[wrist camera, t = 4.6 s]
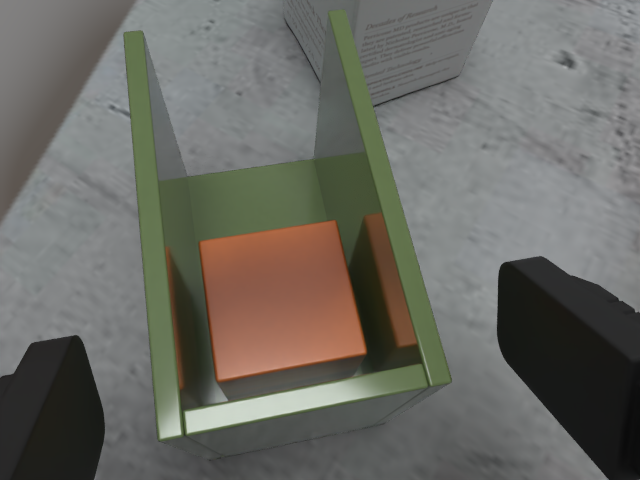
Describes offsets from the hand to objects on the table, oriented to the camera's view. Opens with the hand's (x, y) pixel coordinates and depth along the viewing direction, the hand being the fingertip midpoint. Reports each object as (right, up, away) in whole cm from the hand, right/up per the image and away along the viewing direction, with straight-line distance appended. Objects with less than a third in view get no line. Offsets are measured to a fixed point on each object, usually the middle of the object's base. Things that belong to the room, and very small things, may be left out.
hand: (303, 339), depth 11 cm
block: (-1, -1, +8) cm, 8 cm away
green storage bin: (-1, 0, +9) cm, 9 cm away
